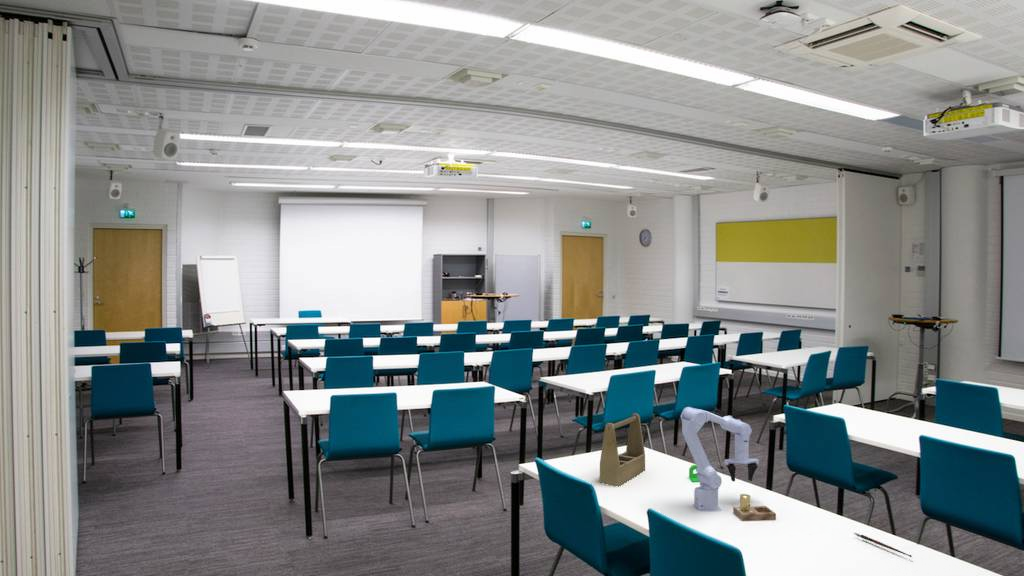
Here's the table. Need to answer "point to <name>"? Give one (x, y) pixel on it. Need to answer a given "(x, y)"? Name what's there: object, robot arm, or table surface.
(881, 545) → the pen
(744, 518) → the pocket board
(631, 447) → the caddy
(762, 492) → the table surface
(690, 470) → the mechanical part
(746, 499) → the cylinder
